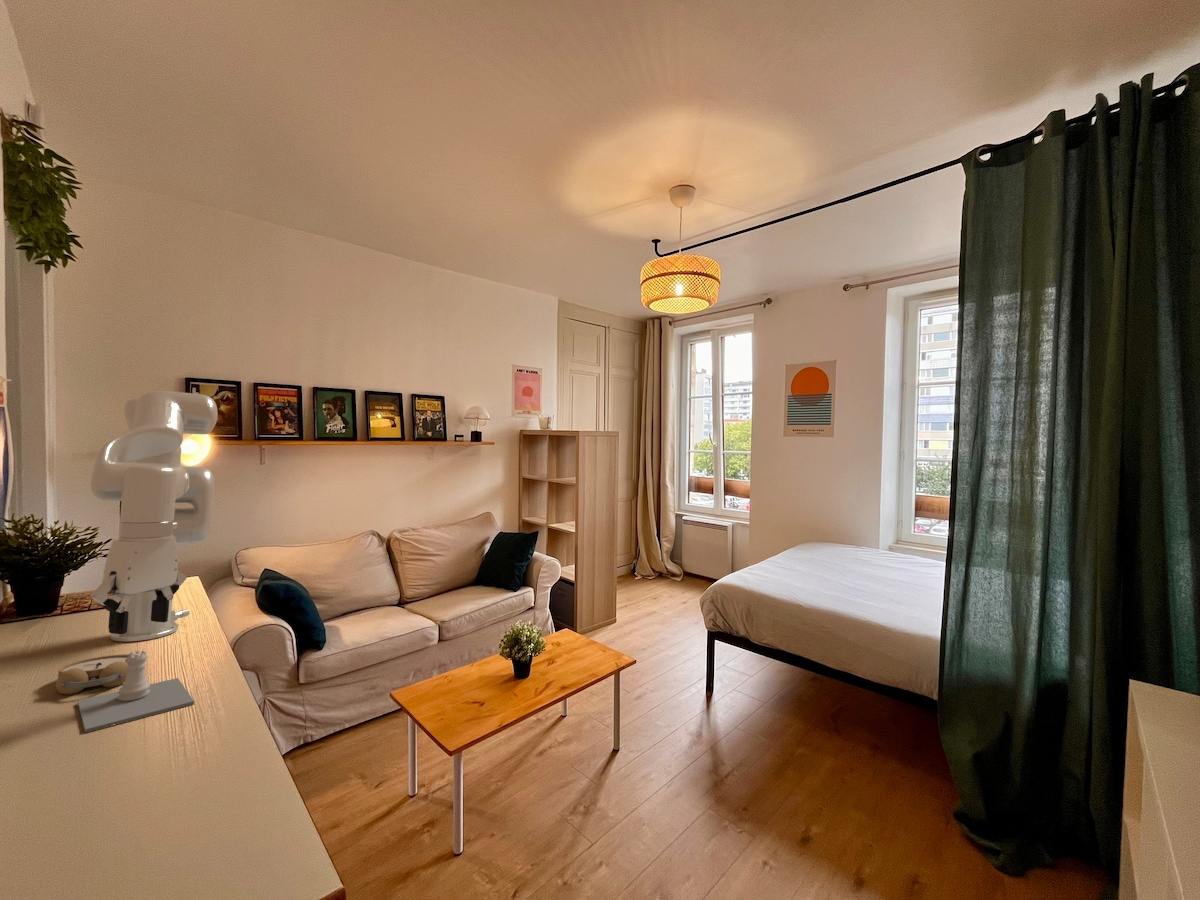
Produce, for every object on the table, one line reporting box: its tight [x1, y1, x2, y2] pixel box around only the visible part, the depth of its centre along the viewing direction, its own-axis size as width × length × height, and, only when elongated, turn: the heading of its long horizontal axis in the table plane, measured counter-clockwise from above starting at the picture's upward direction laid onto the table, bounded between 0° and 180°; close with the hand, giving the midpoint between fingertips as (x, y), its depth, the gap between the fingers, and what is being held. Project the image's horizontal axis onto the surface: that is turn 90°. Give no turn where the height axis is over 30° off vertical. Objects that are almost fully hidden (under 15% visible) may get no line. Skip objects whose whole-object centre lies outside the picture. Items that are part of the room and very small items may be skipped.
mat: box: [77, 677, 195, 734], centre depth 90 cm, size 14×14×1 cm
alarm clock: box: [55, 653, 129, 696], centre depth 98 cm, size 11×5×15 cm
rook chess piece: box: [117, 650, 151, 702], centre depth 92 cm, size 4×4×8 cm
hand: (139, 626), depth 92 cm, fingers open, 6 cm apart
